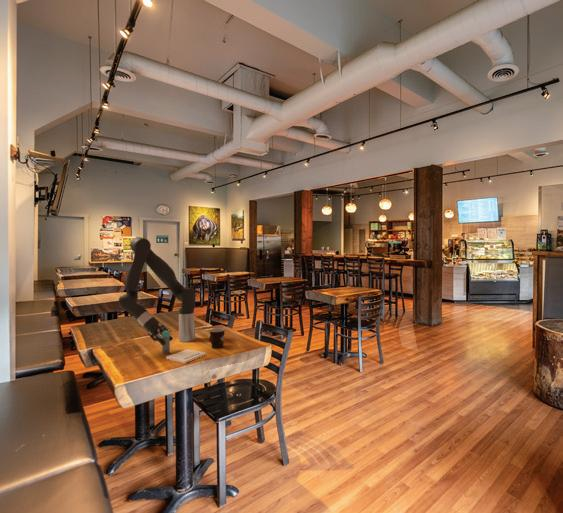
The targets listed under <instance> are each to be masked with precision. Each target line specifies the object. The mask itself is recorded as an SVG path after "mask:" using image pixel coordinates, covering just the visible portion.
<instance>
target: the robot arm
mask: <svg viewBox="0 0 563 513" xmlns="http://www.w3.org/2000/svg"><path fill="white" fill-rule="evenodd" d="M129 246H130V249H131V251H132V252H133V253H134V254H133V260H132V262H131V266H130V267H129V270H128V272H127V274H126V278H125V282H124V289H125V290H126V294H122V295H121V296H120V297H119V299H118V305H120V307H121V308H122V309H123V310H125V311H126V312H128V313H129V314H131V315H132V316H133V317H134V319H135V320H137V322H138V323H139V324H140V325H141V326H142V327H143V328H144V329H145V330H146V332H148V333H147V335H149V337H150V339H152V340H153V341H154V342H159V344H160V345H161V347H162V346H163V345H165V344H166V342H165V341H164V340H163V339H162V331H170V330H169V329H168V328H167V327H166V326H165V325H164V324H161V325H159V323H160V322H159V321H158V319H157V318H155V317H154V315H153V314H152V313H151V312H150V311H148V310H147V309H146V307H144V306H143V305H142V304H138V303H137V302H138V297H139V286H140V280H141V276H142V273H143V269H144V266H145V264H146V265H147V266H148V268H149V269H150V270H151V271H152V272H153V273H154V275H155V276H156V277H157V278H158V279H159V280H160V281H161V282H162V284H164V285H165V286H166V287H167V288H168V289H169V290H170V292H171V293H172V294H173V295H174V297H175V298H176V299H177V301H179V302H181V307H179V309H178V339H179V340H178V341H179V342H182V343H187V342H193V341H194V340H196V324H195V316H194V315H195V312H194V311H195V307H196V292H195V291H194V289H193V288H190V287H185V286H183V285H182V284H181V282H180V281H178V278H177V277H176V274H175V271H174V269H173V268H172V267H171V266H170V265H169V264H168V263H167V262H166V261H165V260H164V259H162V258H161V257H160V256H158V255H157V254H156V253H155V252H154V251H153V250H152V248H151V247H152V245H151V242H150V241H149V239H147V238H145V237H142V236H139V237H134V238H132V239H131V240H130V243H129ZM173 339H174V338H173V337H172V335H170V342H172V341H173Z"/></svg>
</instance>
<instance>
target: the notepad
mask: <svg viewBox="0 0 563 513" xmlns="http://www.w3.org/2000/svg"><path fill="white" fill-rule="evenodd" d="M204 355H205V356H207V352H203V351H198V350H196V349H195V350H193V349H189V348H187V349H184V350H181V351H179V352H178V351H177V352H176V353H173V354H170V355H166V356H165V359H166V360H168V359H169V360H168V361H173V362H177V363H181V364H184V363H185V364H187V362H188V363H190V362H192V360H193V361H195V360H197V358H198V359H200V358H203V357H205V356H204ZM202 356H203V357H202ZM199 357H200V358H199ZM194 359H195V360H194ZM189 361H190V362H189Z"/></svg>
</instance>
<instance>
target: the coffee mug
mask: <svg viewBox="0 0 563 513" xmlns="http://www.w3.org/2000/svg"><path fill="white" fill-rule="evenodd" d="M225 331H226V330H225V328H220V327H219V328H212V329H210V330H209V342H210V343H211V349H215V350H219V349H223V347H224V340H225V339H224V338H225Z"/></svg>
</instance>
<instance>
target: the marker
mask: <svg viewBox="0 0 563 513" xmlns="http://www.w3.org/2000/svg"><path fill="white" fill-rule="evenodd" d="M170 336H171V331H170V330H169V331H162V335H161V338H162V339H163V340H164V341H165V342H166V344H165V345H163V346H162V345H161V350H162V351H161V354H162V355H169V354H170V353H171V348H170V347H171V346H170V345H171V343H170V342H171V341H170Z"/></svg>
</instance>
